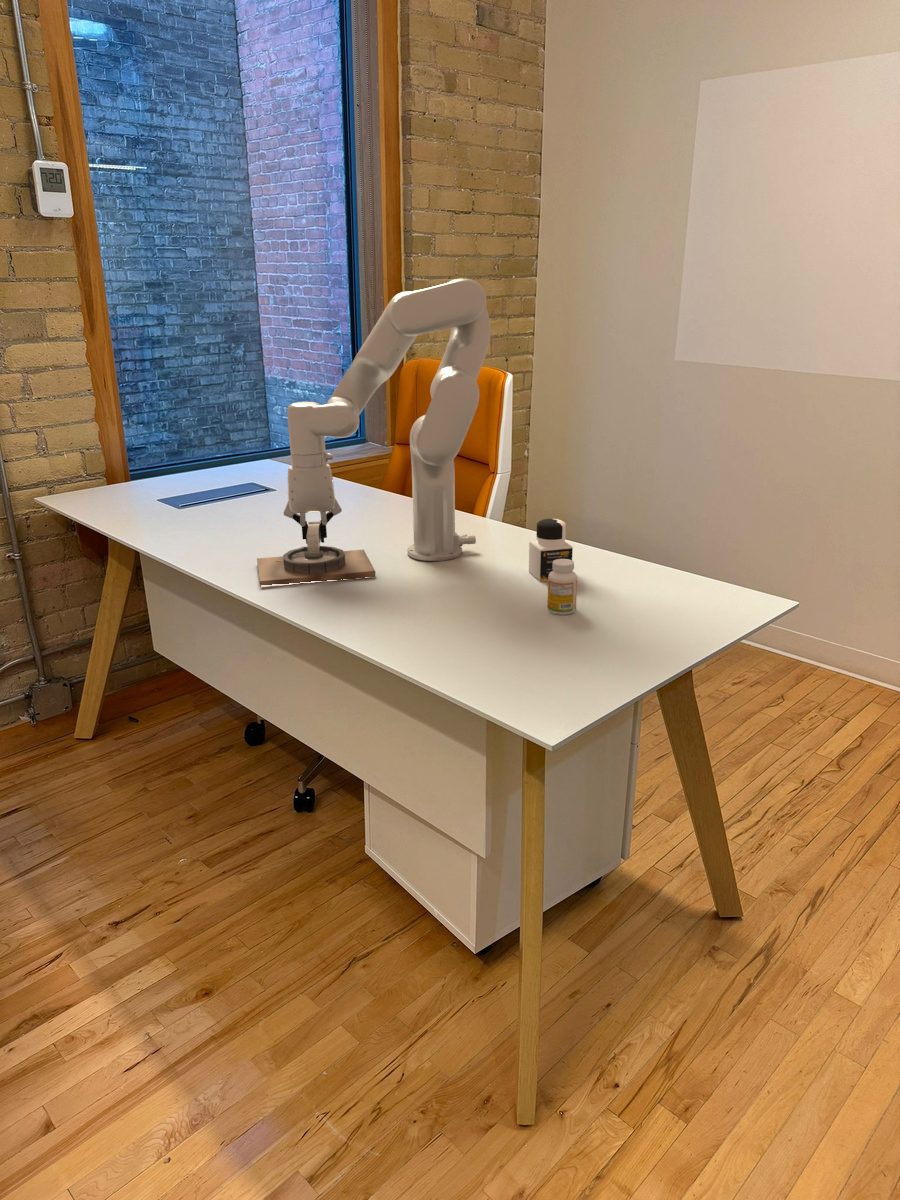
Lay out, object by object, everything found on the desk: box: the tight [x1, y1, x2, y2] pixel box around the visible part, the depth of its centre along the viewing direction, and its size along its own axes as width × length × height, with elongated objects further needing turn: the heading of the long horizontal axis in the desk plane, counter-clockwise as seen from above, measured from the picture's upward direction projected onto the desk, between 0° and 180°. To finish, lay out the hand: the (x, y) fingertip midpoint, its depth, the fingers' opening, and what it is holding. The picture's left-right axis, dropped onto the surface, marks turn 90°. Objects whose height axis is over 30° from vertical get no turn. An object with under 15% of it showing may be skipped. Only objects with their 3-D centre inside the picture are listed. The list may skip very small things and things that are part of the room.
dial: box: [291, 521, 337, 563], centre depth 188 cm, size 15×10×7 cm, turn 6°
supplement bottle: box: [547, 559, 578, 616], centre depth 162 cm, size 5×5×10 cm
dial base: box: [256, 545, 376, 585], centre depth 187 cm, size 24×16×4 cm
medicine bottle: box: [528, 518, 574, 583], centre depth 181 cm, size 7×7×12 cm
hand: (315, 540), depth 193 cm, fingers closed on dial, 2 cm apart
